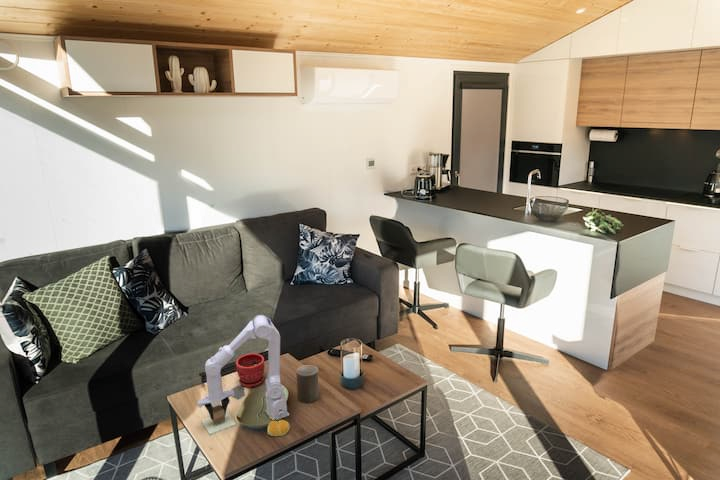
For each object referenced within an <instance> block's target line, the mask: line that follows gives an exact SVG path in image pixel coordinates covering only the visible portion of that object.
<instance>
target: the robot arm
mask: <svg viewBox="0 0 720 480" xmlns="http://www.w3.org/2000/svg"><path fill="white" fill-rule="evenodd" d="M257 337H258V338H260V339H263V340H267V342H268V345H267V346H268V347H267V348H268V354H267V355H268V357H267V359H268V361H267V363H268V367H267V370H268V371H267V375H266V378H265V381H264V383H265V384H264V385H265V387H266V388H265V389H266V392H265V400H266V401H265V403H266V404H265V405H266V409H267V413H268V414H270V415H272V416H273V417H274V418H275V419H276V420H275V421H279V420H282V419H283V418H286V417H289V416H290V413H289V412H288V405H287V401H286V400H285V398H284V389H283V387H282V385H281V375H280V369H281V367H280V365H281V364H280V363H281V361H280V360H281V335H280V332H279V330H278V329H277V328H276V327H275V325H274V323H273V322H272V321H271V319H270V318H269V317H267V316H266V315H264V314H259V315H258V314H257V315H256V316H255V317H253V319H252V320H250V321H249V322H248V324H247V325H245V327H244V328H243V329H242V331H240V333H239V334H238V335H237V336H236V337H235V338H234V339H233V340H232V341H231V343H230V344H226V345H224V346H223V347H222V346H220V347H219V348H218V351H217V352H216V353H215V354H214V355H212V356H210V358H208V359H207V360H206V361H205V364H204V367H205V369H204V371H205V375H206V386H207V387H206V388H207V394H208V396H205V397H204V398H202V399H201V400H198V401H197V406H198V408H199V409H200V408H203V406H204V408H205V409H206V410H207V412H208V414H209V417H210V418H211V419H212V420H213V407H212V405H211V403H215V402H219V401H220V405H221V406H222V407H223V409H224V413H225V415H226V411H227V408H228V405H229V404H230V397H232V396H234V391H233V390H226V391H223V382H222V381H223V380H222V375H221V370H222V368H223V367H224V366H225V365H227V363H229V362H230V361H231V360H232V358H233V357H235V354H236V353H235V352H236V350H238V349H239V348H240V347H242V345H243V344H244V343H246V342H247V341H248V340H250V339H253V340H254V339H257Z"/></svg>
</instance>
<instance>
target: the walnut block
mask: <svg viewBox="0 0 720 480" xmlns="http://www.w3.org/2000/svg"><path fill="white" fill-rule="evenodd" d="M212 421H213V422H214V424H217V423H220V422H222V421H225V413H224V409H223V407H222V404H220V405H218V406H215V407H213V420H212Z"/></svg>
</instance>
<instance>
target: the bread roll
mask: <svg viewBox="0 0 720 480" xmlns="http://www.w3.org/2000/svg"><path fill="white" fill-rule="evenodd" d="M290 426H291V425H290V423H289V422H288V421H287V420H285V419H278V420H276V421H271V420H270V422H269V423H268V425H267V434H268V435H269V436H271V437H279V436H280V437H281V436H286V435H287V433H288V432H289V431H290V430H291V429H290V428H291V427H290Z"/></svg>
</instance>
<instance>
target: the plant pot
mask: <svg viewBox="0 0 720 480" xmlns="http://www.w3.org/2000/svg"><path fill="white" fill-rule="evenodd" d="M253 362H256V364H254V363H253ZM235 366H236V373H237V375H238V378H239V379H238V381H239V383H240V386H242V387H247V388H252V387H257V386H258V385H259V386H260V384H262V383H263V382H264V379H265V376H264V374H265V367H266V366H265V358H264V356H263V355H261V354H260V353H247V354H244V355H241V356H239V357H238V358H237V359H236V361H235Z"/></svg>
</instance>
